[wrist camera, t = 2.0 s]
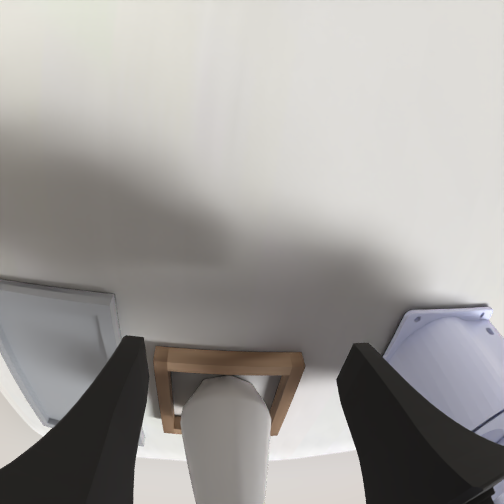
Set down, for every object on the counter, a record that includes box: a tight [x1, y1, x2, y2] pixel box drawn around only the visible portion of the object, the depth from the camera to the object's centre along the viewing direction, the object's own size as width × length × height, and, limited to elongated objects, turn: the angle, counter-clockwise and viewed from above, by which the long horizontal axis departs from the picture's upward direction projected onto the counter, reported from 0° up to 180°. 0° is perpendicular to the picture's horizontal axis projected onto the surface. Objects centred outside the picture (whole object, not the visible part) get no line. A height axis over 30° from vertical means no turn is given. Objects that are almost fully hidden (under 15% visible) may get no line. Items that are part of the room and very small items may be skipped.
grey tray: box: [0, 279, 145, 446], centre depth 18 cm, size 10×16×1 cm, turn 172°
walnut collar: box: [153, 346, 305, 436], centre depth 20 cm, size 9×9×1 cm
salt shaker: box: [180, 375, 271, 504], centre depth 14 cm, size 6×6×13 cm
